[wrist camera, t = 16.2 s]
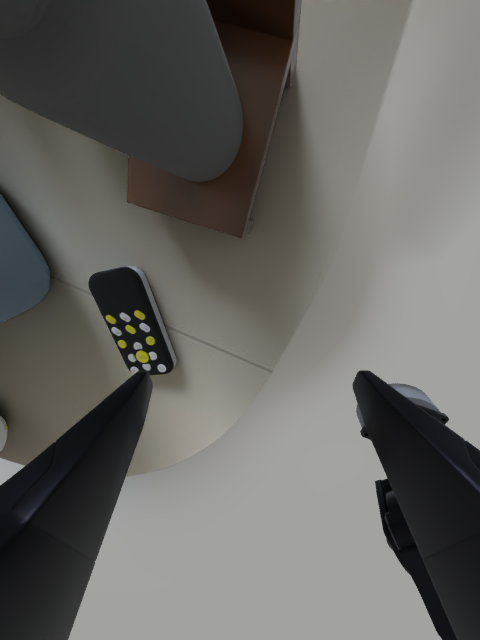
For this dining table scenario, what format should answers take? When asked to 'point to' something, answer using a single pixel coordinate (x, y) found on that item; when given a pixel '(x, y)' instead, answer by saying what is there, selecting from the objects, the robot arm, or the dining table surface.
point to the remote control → (133, 319)
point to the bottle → (127, 77)
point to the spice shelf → (258, 118)
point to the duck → (3, 433)
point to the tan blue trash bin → (19, 267)
